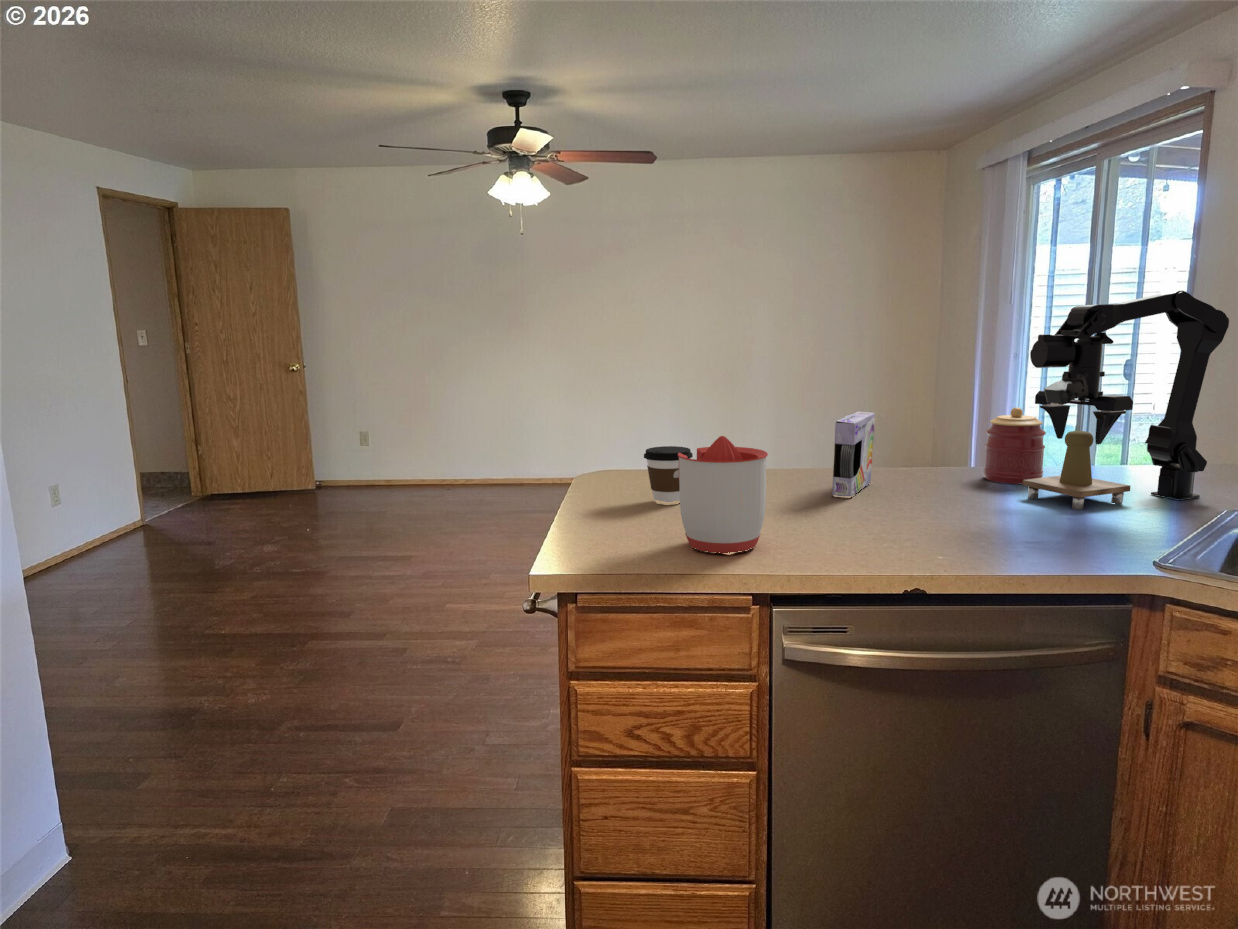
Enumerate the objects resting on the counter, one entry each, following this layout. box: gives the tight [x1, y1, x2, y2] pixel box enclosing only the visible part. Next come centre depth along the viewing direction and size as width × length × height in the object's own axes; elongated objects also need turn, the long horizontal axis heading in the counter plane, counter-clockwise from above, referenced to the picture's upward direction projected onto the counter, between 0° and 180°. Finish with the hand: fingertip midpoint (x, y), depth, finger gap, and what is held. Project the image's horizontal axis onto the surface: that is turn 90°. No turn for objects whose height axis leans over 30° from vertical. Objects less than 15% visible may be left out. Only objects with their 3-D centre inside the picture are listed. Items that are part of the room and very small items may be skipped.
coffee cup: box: [643, 445, 694, 502], centre depth 174 cm, size 11×11×12 cm
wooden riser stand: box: [1027, 486, 1125, 511], centre depth 166 cm, size 13×13×3 cm
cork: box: [1059, 430, 1094, 485], centre depth 165 cm, size 6×6×11 cm
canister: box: [983, 406, 1047, 485], centre depth 189 cm, size 13×13×18 cm
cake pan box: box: [831, 411, 876, 496], centre depth 180 cm, size 19×5×18 cm, turn 148°
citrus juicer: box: [674, 435, 769, 553], centre depth 138 cm, size 16×17×20 cm
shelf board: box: [1022, 475, 1131, 498], centre depth 166 cm, size 14×14×1 cm
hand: (1078, 441), depth 164 cm, fingers open, 9 cm apart
